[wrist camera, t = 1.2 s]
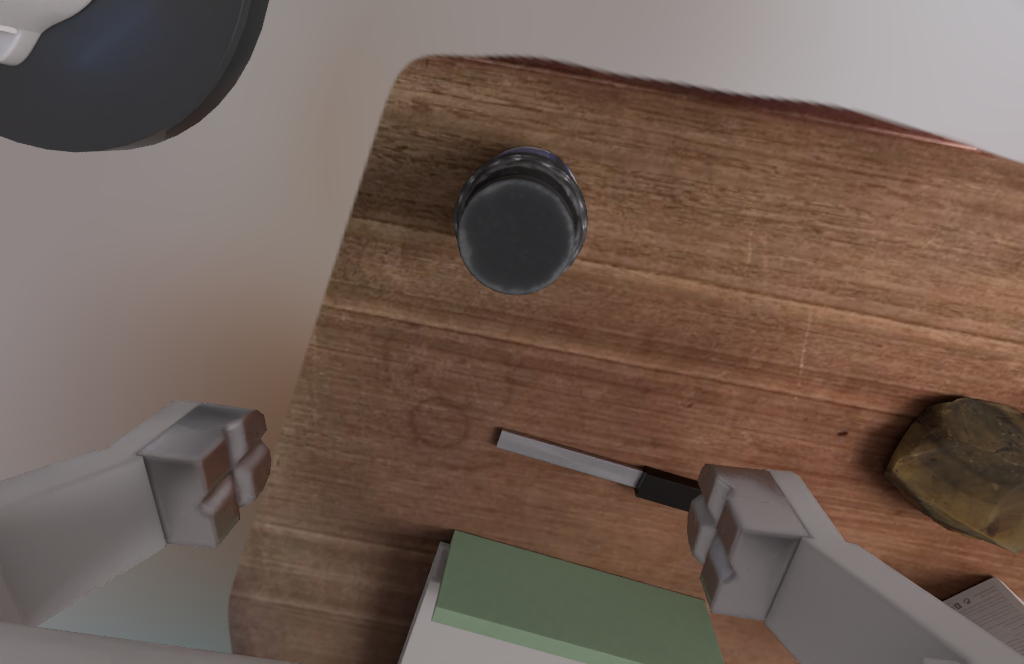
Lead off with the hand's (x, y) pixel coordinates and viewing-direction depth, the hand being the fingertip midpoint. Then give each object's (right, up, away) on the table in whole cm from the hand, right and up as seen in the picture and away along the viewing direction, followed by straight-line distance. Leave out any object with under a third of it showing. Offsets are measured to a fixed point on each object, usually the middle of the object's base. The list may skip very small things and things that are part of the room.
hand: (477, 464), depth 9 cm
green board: (+6, -18, +32) cm, 37 cm away
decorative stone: (+32, -6, +25) cm, 41 cm away
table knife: (+9, -8, +27) cm, 30 cm away
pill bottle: (+2, +11, +20) cm, 23 cm away
